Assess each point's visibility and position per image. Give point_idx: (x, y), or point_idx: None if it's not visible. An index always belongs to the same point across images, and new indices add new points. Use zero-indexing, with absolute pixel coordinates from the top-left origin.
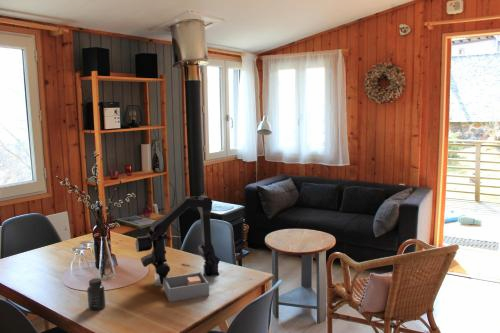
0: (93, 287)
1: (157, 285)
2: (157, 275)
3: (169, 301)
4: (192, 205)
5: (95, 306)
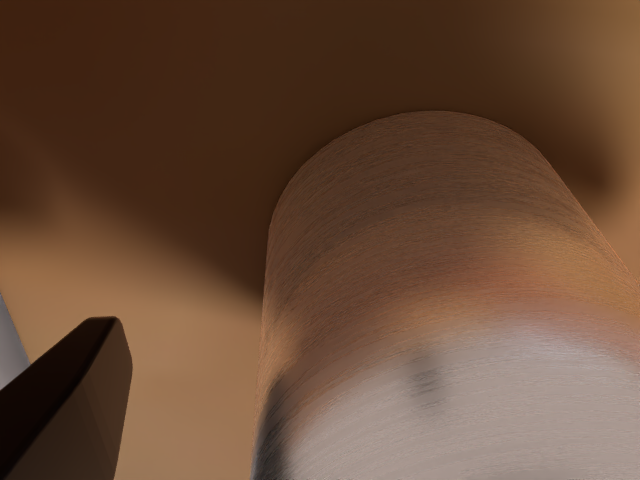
0: None
1: (301, 174)
2: (291, 472)
3: None
4: None
5: None
